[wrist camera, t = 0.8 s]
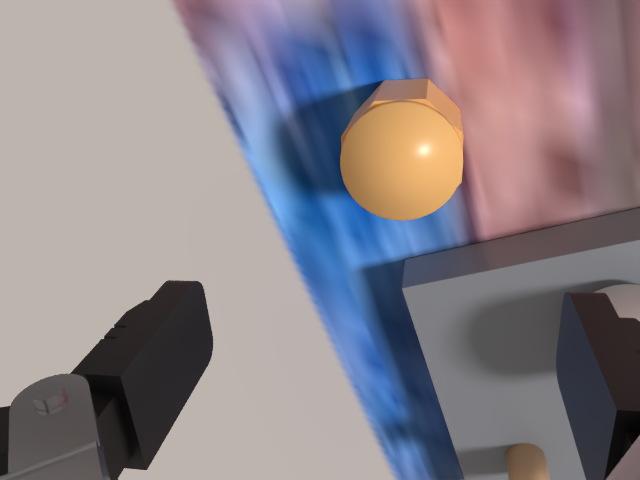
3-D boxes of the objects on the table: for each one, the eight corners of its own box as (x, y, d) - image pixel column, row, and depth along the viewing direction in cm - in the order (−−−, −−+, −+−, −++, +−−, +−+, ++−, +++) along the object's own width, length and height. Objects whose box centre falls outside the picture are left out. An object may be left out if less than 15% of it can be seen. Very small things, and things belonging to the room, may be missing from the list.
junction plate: (405, 259, 29) (393, 361, 22) (658, 203, 26) (750, 303, 18) (475, 478, 35) (485, 619, 28) (690, 458, 32) (770, 614, 24)
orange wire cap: (353, 81, 26) (336, 105, 22) (460, 76, 25) (465, 100, 21) (358, 180, 28) (343, 220, 24) (457, 179, 27) (461, 220, 23)
